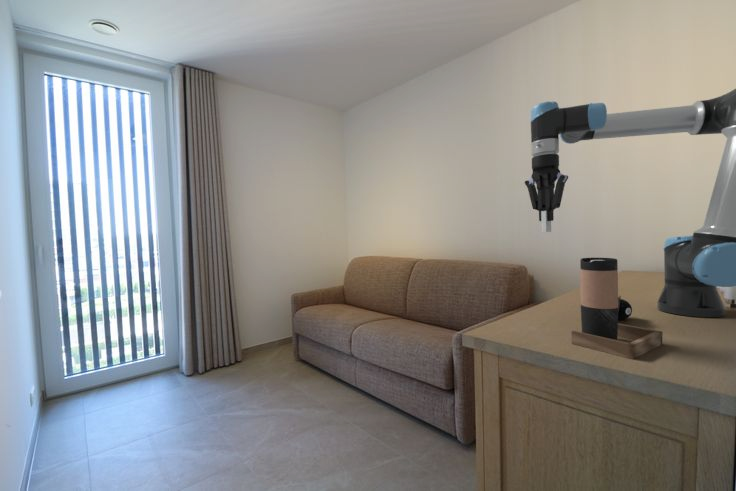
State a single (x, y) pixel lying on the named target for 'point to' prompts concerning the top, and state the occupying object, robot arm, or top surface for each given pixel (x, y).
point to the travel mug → (599, 296)
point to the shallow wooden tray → (641, 345)
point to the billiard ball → (624, 310)
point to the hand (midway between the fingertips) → (546, 231)
